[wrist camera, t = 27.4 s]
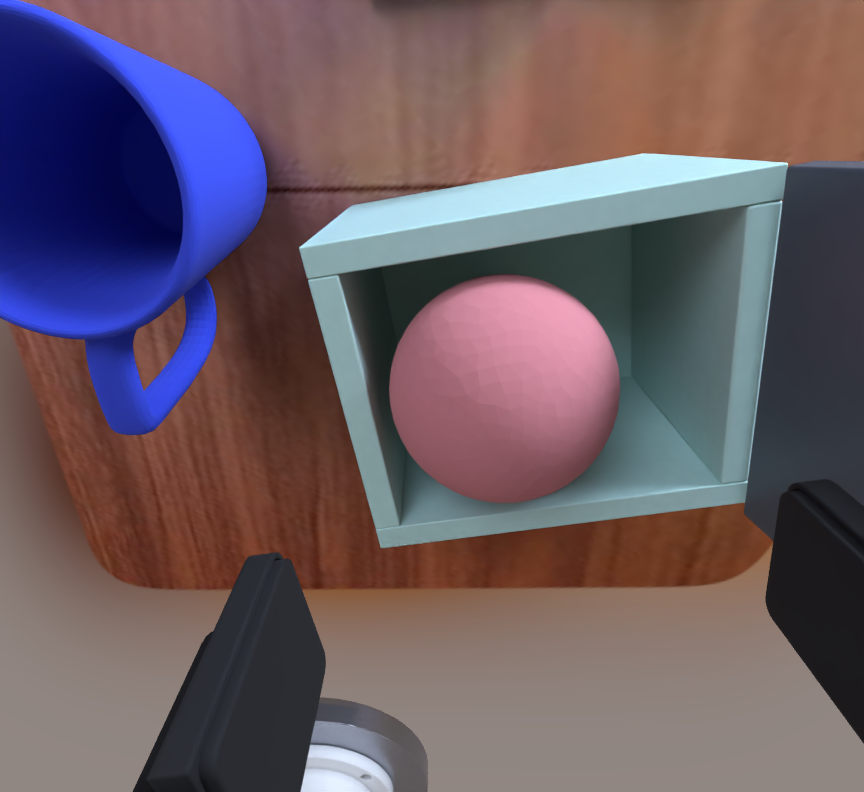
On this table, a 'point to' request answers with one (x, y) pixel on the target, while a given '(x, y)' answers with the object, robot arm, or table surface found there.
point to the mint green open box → (601, 294)
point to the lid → (813, 343)
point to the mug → (116, 201)
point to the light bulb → (504, 388)
